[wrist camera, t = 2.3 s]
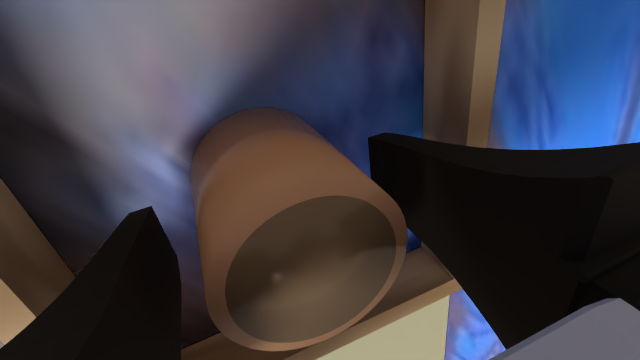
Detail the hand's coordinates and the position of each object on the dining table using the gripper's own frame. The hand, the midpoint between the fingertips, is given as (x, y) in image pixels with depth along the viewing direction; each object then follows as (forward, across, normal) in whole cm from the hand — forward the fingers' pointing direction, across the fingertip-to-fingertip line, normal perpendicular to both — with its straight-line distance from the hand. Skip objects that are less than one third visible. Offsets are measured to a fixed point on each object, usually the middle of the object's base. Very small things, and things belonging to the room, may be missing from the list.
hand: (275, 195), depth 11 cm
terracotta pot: (+2, 0, 0) cm, 2 cm away
